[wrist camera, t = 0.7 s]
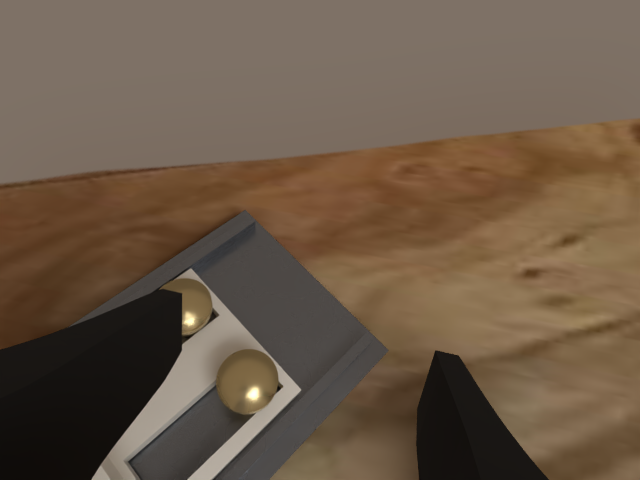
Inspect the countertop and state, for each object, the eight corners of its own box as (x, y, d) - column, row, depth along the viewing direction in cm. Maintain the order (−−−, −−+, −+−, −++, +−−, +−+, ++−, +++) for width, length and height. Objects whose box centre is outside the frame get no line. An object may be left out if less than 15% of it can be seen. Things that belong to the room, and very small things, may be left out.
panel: (144, 548, 19) (126, 557, 16) (35, 385, 22) (2, 369, 19) (299, 393, 24) (306, 379, 21) (192, 275, 27) (186, 248, 24)
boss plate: (138, 620, 19) (115, 646, 16) (-9, 390, 23) (-51, 372, 20) (383, 355, 27) (402, 336, 24) (245, 219, 31) (245, 186, 28)
